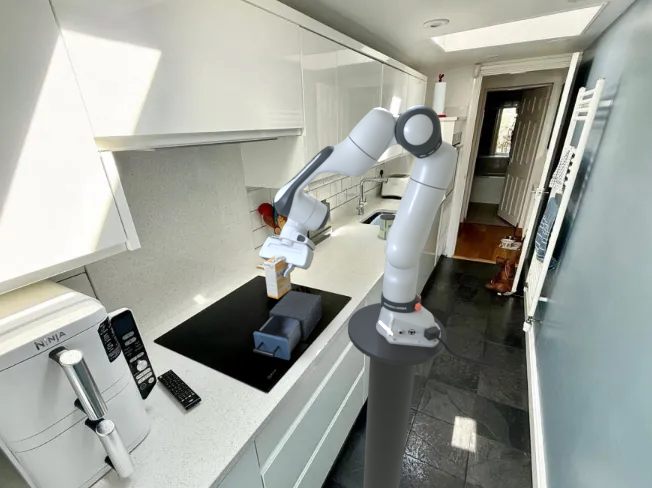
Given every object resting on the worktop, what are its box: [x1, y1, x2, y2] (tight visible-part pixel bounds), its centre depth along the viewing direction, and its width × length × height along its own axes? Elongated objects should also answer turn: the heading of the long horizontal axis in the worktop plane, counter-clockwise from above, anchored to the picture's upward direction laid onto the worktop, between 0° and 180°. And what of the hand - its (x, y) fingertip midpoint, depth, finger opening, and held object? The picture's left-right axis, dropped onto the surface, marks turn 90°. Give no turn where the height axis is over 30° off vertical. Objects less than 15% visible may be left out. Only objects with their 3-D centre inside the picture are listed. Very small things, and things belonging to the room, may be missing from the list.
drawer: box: [252, 315, 303, 361], centre depth 105 cm, size 20×12×8 cm, turn 158°
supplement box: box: [263, 255, 292, 300], centre depth 105 cm, size 8×5×13 cm, turn 151°
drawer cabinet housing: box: [268, 290, 323, 342], centre depth 117 cm, size 17×14×10 cm
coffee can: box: [378, 213, 396, 240], centre depth 200 cm, size 10×10×14 cm
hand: (277, 275), depth 104 cm, fingers closed on supplement box, 5 cm apart
